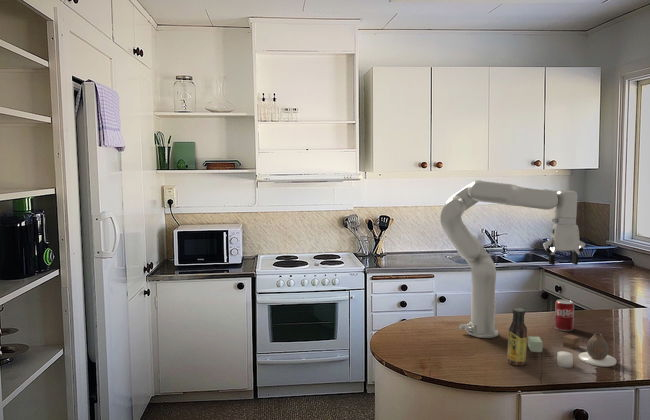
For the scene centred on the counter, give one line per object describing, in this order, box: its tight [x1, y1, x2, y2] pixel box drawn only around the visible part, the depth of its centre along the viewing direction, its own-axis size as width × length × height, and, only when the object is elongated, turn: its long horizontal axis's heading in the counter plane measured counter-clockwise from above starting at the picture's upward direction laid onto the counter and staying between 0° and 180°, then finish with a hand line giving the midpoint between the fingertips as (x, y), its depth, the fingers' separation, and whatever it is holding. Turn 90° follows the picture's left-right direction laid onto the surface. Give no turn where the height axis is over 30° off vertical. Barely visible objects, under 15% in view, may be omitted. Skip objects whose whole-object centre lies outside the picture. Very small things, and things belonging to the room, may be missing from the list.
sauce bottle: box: [506, 307, 528, 366], centre depth 181 cm, size 6×6×20 cm
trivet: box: [578, 351, 617, 368], centre depth 184 cm, size 12×12×1 cm
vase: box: [586, 332, 609, 360], centre depth 183 cm, size 7×7×9 cm
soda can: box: [554, 299, 575, 332], centre depth 218 cm, size 7×7×12 cm
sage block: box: [527, 335, 544, 353], centre depth 195 cm, size 4×6×4 cm, turn 169°
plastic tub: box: [556, 350, 574, 369], centre depth 180 cm, size 5×5×4 cm
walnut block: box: [562, 334, 580, 350], centre depth 197 cm, size 4×4×4 cm
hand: (563, 264), depth 202 cm, fingers open, 9 cm apart
